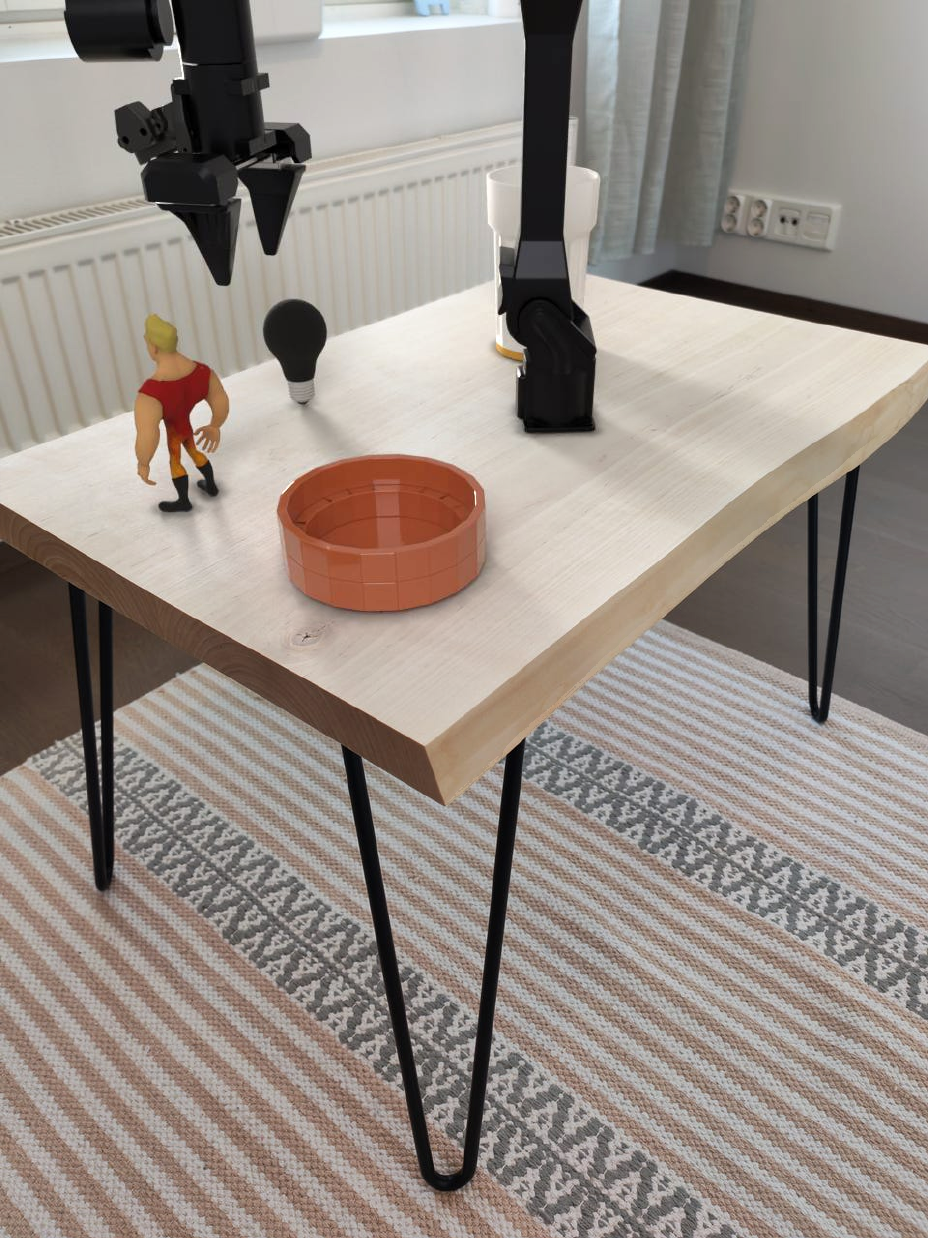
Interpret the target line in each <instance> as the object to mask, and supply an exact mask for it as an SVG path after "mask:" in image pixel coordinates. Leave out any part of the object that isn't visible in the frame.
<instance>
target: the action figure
mask: <svg viewBox="0 0 928 1238" xmlns="http://www.w3.org/2000/svg"><path fill="white" fill-rule="evenodd" d="M144 328H145V331H144V333H143V339H144V341H145V343H146V350H147V351H148V354H149V356H150V359H151V360H152V361H154V362H156V364H157V366H156V369H155V371H153V373H152V374H151V375H150V376H149V377H148V378H146V379H145V380H144V382H143V383H142V385H141V386H140V388H139V389H138V390H137V395H136V397H135V400H134V405H133V417H134V426H135V430H136V437H135V443H134V453H135V458H136V459H137V464H136V466H137V473H136V474H137V475H138V476H140V480H141V481H143V482H144V483H145V484H147V485H149V486H156V485H157V482H156V481H153V480H151V479H149V475H150V471H151V466H150V463H151V462H152V460H153V458H154V456H155V454H156V451H157V450H158V446H159V444H160V440H161V429H160V423H161V421H162V422H163V424H164V426H165V433H166V445H167V450H168V454H169V455H168V456H169V462H168V464H169V469H170V475H171V482H172V484H173V487H174V488H175V490H176V492H177V497H178V498H176V500H171V501H170V500H169V501H167V500H163V501H160V502H158V504H157V505H158V509H159V510H160V511H162V512H168V513H169V512H170V513H171V512H172V513H173V512H174V513H175V512H190V511H191V510H192V509H193V504H192V503H191V501H190V498H189V486H190V485H189V484H190V483H189V481H190V480H189V473H188V472H187V470H186V468H185V467H184V466H183V464H182V462H181V459H182V447H183V448H184V450H185V451H186V453H187V455H188V456H189V457H190V459H191V460H192V462H193V464H194V465H195V468H196V469H197V470H198V471H199V472H200V473H201V475H202V476H203V479H202V478H201V479H198V481H196V486H197V487H198V488H200V489H202V490H204V491H205V492H206V493H207V495H208V496H210V497H214V496H217V495H218V494H219V489H218V486H217V484H216V482H215V477H214V476H215V475H214V467H213V466H212V463H211V462H210V459H208V457H207V456H206V454H205V453H204V451H206V449H207V451H206V453H207V454H210V453H212V454H214V453H215V452H216V451H217V450H218V448H219V446H220V443H221V442H220V441H221V436H222V435H221V428H222V426H223V425H224V424H225V423H226V421H227V419H228V416H229V413H230V399H229V396H228V394H227V391H226V390H225V388H224V386H223V383H222V382H221V380H220V378H219V376H218V374H217V373H216V372H215V370H214V369H212V368H211V367H210V366H209V365H207V364H206V363H204V362H200V361H198V360H192V359H191V358H189V357H188V356H186V355H184V354H182V353H180V352H179V351H178V350H177V348H178V347H177V346H178V345H177V344H178V342H179V336H178V329H177V328H176V327H175V326H174V324H172V323H170V322H169V321H167V320H165V319H163V318H162V317H160V316H159V315H158V313H154V314H151V315H149V316H147V317H146V319H145V320H144ZM202 401H205V402H206V403H207V405H208V407H209V408H210V411H211V417H210V422H209V424H206V425H203V426H200V427H198V428H196V430H195V431H194V428H193V425H192V424H191V413H192V412H193V410H194V408H195V407H196V406H197V404H199V403H201V402H202ZM201 432H202V434H201ZM200 434H201V436H200V437H199V438H198V439H197V441H196V442H195V438H194V437H197V436H199V435H200ZM203 441H204V443H203V445H202V447H201V451H203V452H201V451H200V450H198V449H197V446H199V445H200V444H201V443H202V442H203ZM209 443H210V444H209ZM208 445H209V446H208ZM207 447H208V448H207Z"/></svg>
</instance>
